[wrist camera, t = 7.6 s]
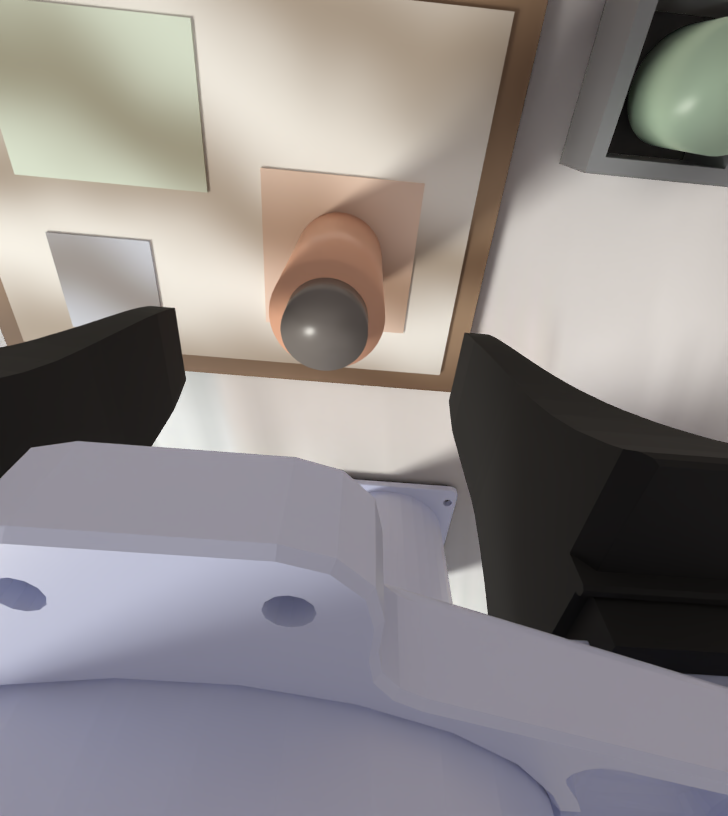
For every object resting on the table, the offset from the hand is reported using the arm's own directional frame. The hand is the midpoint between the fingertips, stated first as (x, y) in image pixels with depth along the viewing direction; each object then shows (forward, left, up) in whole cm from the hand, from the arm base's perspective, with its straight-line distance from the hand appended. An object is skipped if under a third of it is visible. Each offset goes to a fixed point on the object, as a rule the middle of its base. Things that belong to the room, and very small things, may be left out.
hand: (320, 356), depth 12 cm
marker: (0, 0, -8) cm, 8 cm away
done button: (+7, -11, -7) cm, 14 cm away
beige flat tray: (+2, +5, -9) cm, 10 cm away
